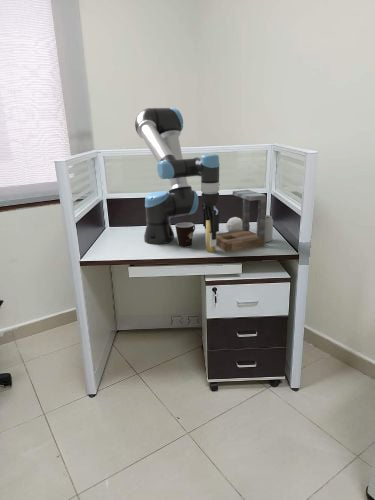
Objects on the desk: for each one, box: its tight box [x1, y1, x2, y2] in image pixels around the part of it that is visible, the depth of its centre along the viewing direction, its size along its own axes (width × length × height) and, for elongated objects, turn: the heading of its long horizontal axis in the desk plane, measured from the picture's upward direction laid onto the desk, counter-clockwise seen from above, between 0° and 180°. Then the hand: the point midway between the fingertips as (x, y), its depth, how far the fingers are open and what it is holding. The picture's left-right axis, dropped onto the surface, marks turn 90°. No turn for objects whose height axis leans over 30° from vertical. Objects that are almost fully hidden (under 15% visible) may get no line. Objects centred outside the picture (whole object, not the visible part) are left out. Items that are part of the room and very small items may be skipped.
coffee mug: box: [174, 221, 196, 248], centre depth 164 cm, size 12×9×10 cm
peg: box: [205, 220, 216, 254], centre depth 154 cm, size 4×4×14 cm
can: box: [256, 214, 274, 244], centre depth 165 cm, size 8×8×12 cm
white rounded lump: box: [226, 216, 251, 232], centre depth 178 cm, size 9×9×12 cm
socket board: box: [216, 189, 267, 253], centre depth 160 cm, size 16×19×24 cm
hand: (210, 244), depth 155 cm, fingers closed on peg, 4 cm apart
